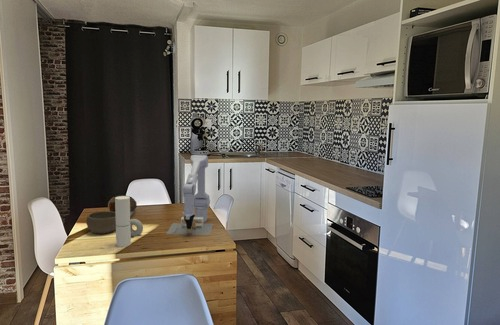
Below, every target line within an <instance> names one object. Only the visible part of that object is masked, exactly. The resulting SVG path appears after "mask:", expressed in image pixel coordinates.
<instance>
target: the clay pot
mask: <svg viewBox="0 0 500 325" xmlns="http://www.w3.org/2000/svg"><path fill="white" fill-rule="evenodd" d="M119 196H128V197H130V217H131V216H132V215H133V214H134V213H135V211H136V209H137V205H138V204H137V201H136V200H135V199H134V198H133V197H132V196H130V195H127V194H121V195H116V196H113V197H112V198H111V199H110V200H109V201H108V202H107V210H108V211H110V212H115V198H116V197H119Z"/></svg>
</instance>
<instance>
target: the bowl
mask: <svg viewBox="0 0 500 325" xmlns="http://www.w3.org/2000/svg"><path fill="white" fill-rule="evenodd" d="M86 226H87V228H88V229H89V231H91V232H92V233H95V234H104V235H105V234H108V233H112V232H114V231H116V215H115V212H110V211H109V210H108V211H105V210H104V211H95V212H91V213H90V214H88V215H87V218H86Z"/></svg>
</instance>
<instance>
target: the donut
mask: <svg viewBox="0 0 500 325" xmlns="http://www.w3.org/2000/svg"><path fill="white" fill-rule="evenodd" d="M133 226H135V227H136V229H133ZM130 231H131V237H137V236H140V235H141V234H142V233H143V231H144V226H143V223H142V222H141V221H140V220H139V219H137V218H130Z"/></svg>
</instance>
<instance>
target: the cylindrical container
mask: <svg viewBox="0 0 500 325" xmlns="http://www.w3.org/2000/svg"><path fill="white" fill-rule="evenodd" d="M118 196H119V197H116V196H115V197H116V198H115V215H116V229H115V241H116V242H115V244H116V245H115V246H116V247H119V248H125V247H129V246H131V243H132V239H131V238H132V236H131V231H130V220H131V216H130V197H131V196H130V197H128V196H129V195H126V196H121V195H118Z"/></svg>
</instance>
